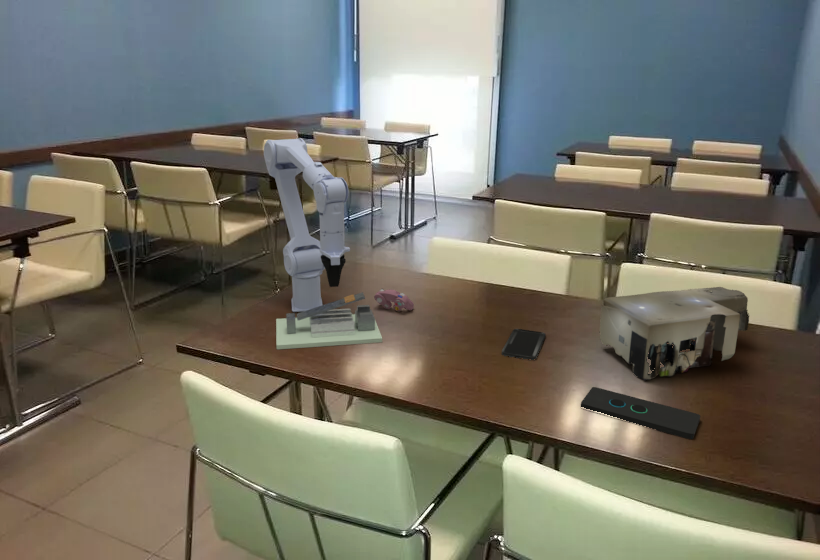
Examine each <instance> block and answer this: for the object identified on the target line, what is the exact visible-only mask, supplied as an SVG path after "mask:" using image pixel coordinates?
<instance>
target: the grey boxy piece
mask: <svg viewBox="0 0 820 560" xmlns="http://www.w3.org/2000/svg"><path fill="white" fill-rule="evenodd" d="M748 299H749V298H748V297H747V296H746V294H745V293H744V292H742V291H741V290H737V289H728V288H725V287H723V286H716V287H715V286H713V287H703V288H689V289H681V290H667V291H666V290H665V291H652V292H647V293H640V294H630V295H621V296H610V297H605V298H604V299H603V300H602V302H603V303H602V304H601V306H600V318H599V320H600V321H599V330H598V331H599V340H600V341H601V343H602V345H603V346H605V347H608V346H610V347H611V348H613V349H614V351H615V354H616V355H618V356H619V357H622V359H624V360H625V362H626V363H627V364H629V365H630V366H631V365H632V374H633V373H634V374H635V375H636V376H638V377H639V378H638V377H637V378H638V379H641V380H643V381H646V380H651V379H654V378H656V377H657V376H659V377H673V376H675V375H676V373H677V374H678V373H679V374H680V375H682V374H684V373H687V372H688V371H689V369H690V368H700V367H708V366H711V364H712V360H711V359H714V358H715V359H716V358H717V357H714V355H713V350H714V351H717V352H719V351H720V352H721V354H722V355H721V357H722V358H721V360H720V361H721V362H723V361H726V360H729V359H731V358H732V357H733V356H734V355H735V353H736V347H737V339H738V334H739V331H743V332H745V331H747V330H748V328H749V323H750V313H749V312H748V301H749V300H748ZM693 340H695V341H693ZM667 343H669V344H667ZM672 344H673V345H674V346H673V345H672ZM690 344H691V345H690ZM672 346H673V348H672ZM686 349H690V351H688V352H686V351H685V352H680V351H682V350H686ZM648 352H649V354H648ZM647 357H648V359H650V360H651V365H650V366H649V363H648V362H647ZM660 362H661V363H662V364H663V365H664V367H661V368H660V365H661V364H660ZM649 367H650V370H651V371H652V370H654V371H652V373H651V374H648V372H649ZM654 368H655V369H654ZM634 374H633V375H634ZM635 375H634V376H635ZM636 376H635V377H636Z"/></svg>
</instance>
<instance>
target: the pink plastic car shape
mask: <svg viewBox="0 0 820 560" xmlns="http://www.w3.org/2000/svg"><path fill="white" fill-rule="evenodd" d="M374 300H375V301H376V302H377V303H378V305H381V306H382V307H383V308H384V309H386V310H390V309H391V308H393V310H394V311H396V312H401V311H402V310H403V309H405V310H407V311H412V310H414V307H415V305H414V304H415V303H414V302H413V301H412V300H411V299H410V298H409V297H408V295H406V294H405V293H403V292H399V291H398V290H396V289H383V288H381V289H380V290H378V291H377V292H376V293H375V294H374ZM393 303H394V304H393Z"/></svg>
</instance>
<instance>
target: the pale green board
mask: <svg viewBox="0 0 820 560" xmlns="http://www.w3.org/2000/svg"><path fill="white" fill-rule="evenodd" d="M352 317H353V321H354V325H355V335H345V336H330V337H314V338H312V336H311V328H310V320H309V317H308V318H305V319H301V320H297V317H295V324H296V334H287V319H286V317H285V318H276V319H275V321H276V322H275V323H276V324H275V326H276V327H275V328H276V329H275V330H276V332H275V335H276V337H275V338H276V341H275V342H276V343H275V344H276V350H287V349H290V350H291V349H303V348H315V347H316V348H319V347H333V346H345V345H346V346H347V345H361V344H362V345H363V344H374V343H375V344H376V343H377V344H378V343H383V337H382V334H381V331H380V329H379V326H378V324H377V321H376V320H375V330H372V331H358V329H357V326H356V323H355V313H352Z"/></svg>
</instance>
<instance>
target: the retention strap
mask: <svg viewBox="0 0 820 560" xmlns="http://www.w3.org/2000/svg"><path fill="white" fill-rule="evenodd" d="M362 300H366V297H365V294H364V292H359V293H356V294H354V293H352V294H349V295H347V296H344V297H343V298H340V299H337V300H335V301H332V302H328V303H325V304H323V305H322V306H319V307H316V308H313V309H310V310H307V311H302V312H298V313H297V312H296V318H297V320H301V319H305V318H308V317H311V316H314V315H317V314H320V313H323V312H326V311H329V310H333V309H339V308H340V307H345V306H347V305H350V304H352V303H357V302H359V301H362Z"/></svg>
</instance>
